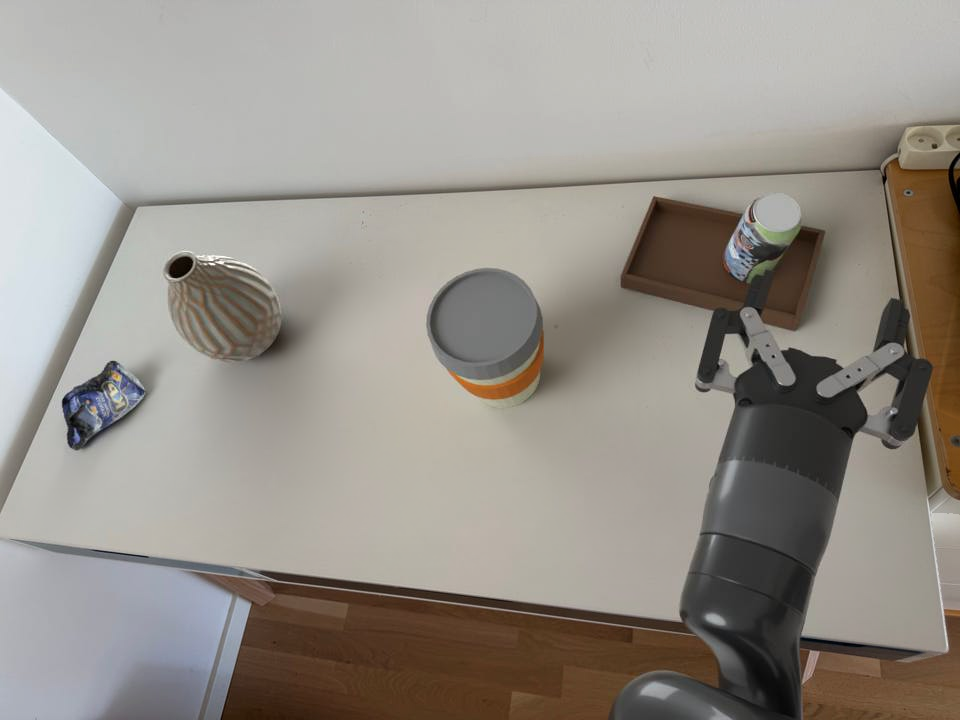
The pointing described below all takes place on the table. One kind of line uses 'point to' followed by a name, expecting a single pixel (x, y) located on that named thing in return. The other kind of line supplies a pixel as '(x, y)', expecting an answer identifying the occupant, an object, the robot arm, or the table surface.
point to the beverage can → (762, 236)
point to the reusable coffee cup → (489, 335)
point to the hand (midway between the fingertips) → (828, 289)
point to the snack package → (100, 403)
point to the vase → (221, 306)
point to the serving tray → (713, 262)
